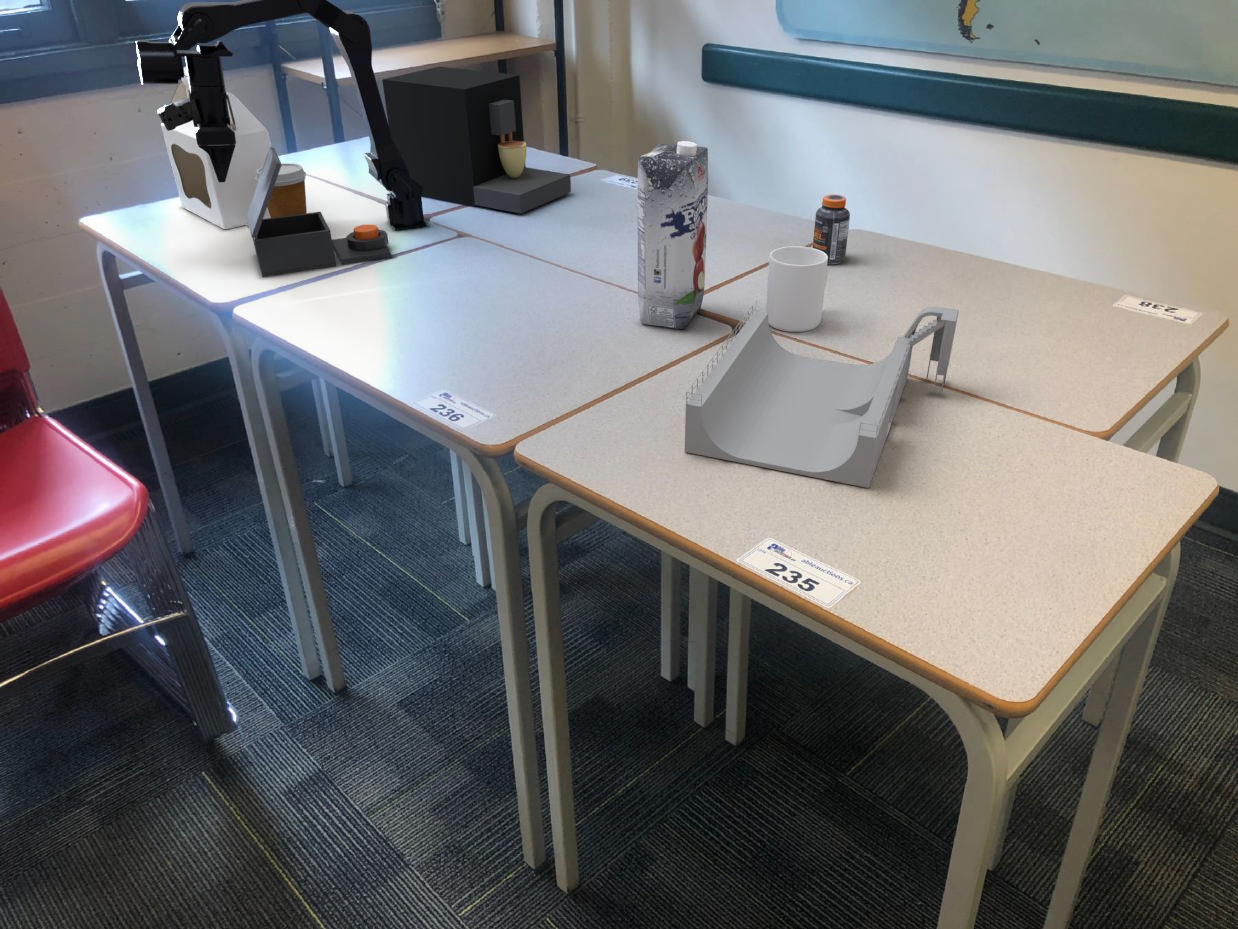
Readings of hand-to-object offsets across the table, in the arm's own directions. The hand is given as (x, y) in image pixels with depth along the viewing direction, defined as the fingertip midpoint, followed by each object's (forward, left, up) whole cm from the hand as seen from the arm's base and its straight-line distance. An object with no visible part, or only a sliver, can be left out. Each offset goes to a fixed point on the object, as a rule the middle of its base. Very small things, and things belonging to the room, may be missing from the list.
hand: (220, 175), depth 172 cm
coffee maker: (-53, -18, -15) cm, 58 cm away
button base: (-21, +10, -14) cm, 28 cm away
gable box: (-1, -28, -15) cm, 31 cm away
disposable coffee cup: (-11, -10, -15) cm, 21 cm away
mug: (-79, +71, -15) cm, 107 cm away
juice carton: (-61, +62, -15) cm, 88 cm away
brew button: (-23, +10, -12) cm, 27 cm away
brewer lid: (-7, +10, -1) cm, 12 cm away
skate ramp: (-65, +99, -15) cm, 119 cm away
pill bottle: (-98, +50, -15) cm, 111 cm away
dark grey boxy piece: (-9, +10, -14) cm, 20 cm away
